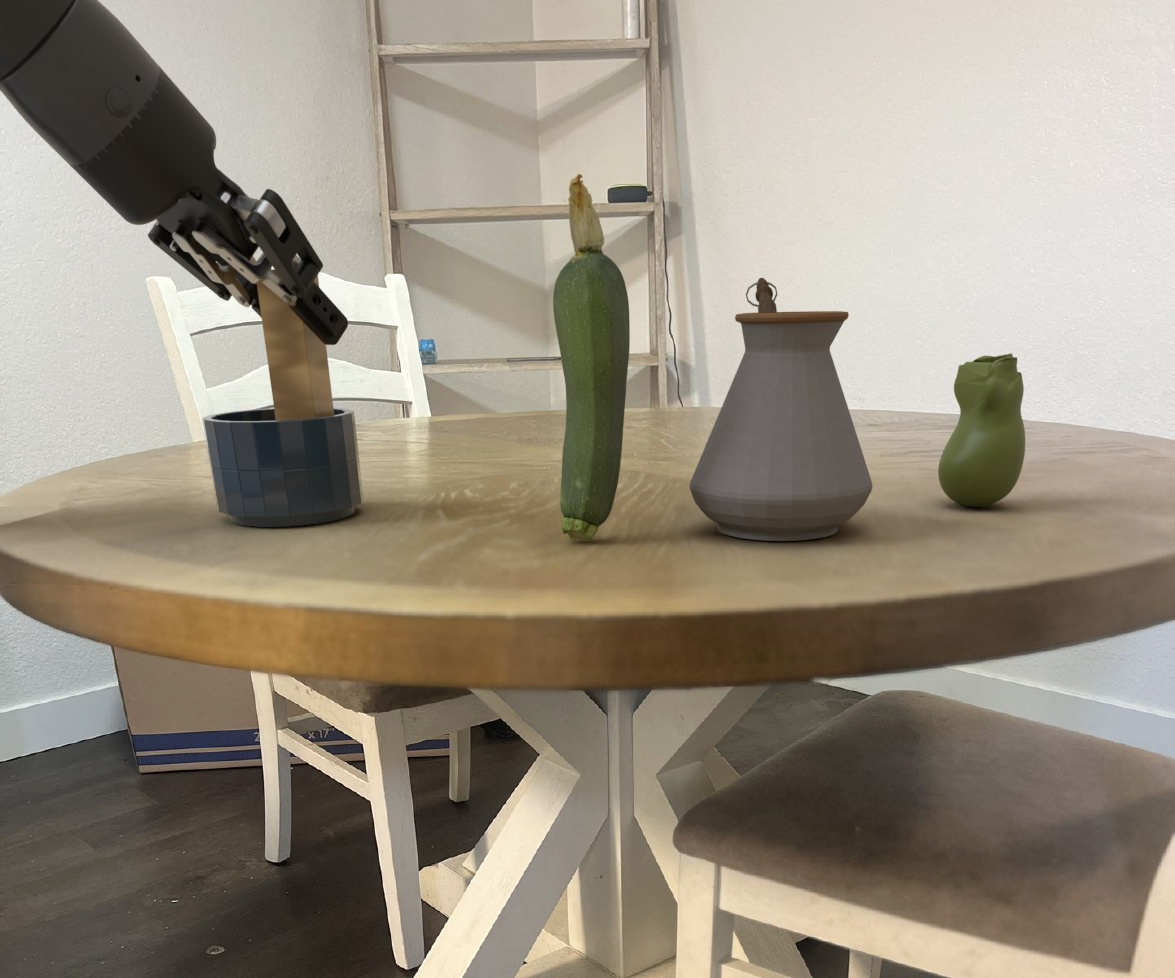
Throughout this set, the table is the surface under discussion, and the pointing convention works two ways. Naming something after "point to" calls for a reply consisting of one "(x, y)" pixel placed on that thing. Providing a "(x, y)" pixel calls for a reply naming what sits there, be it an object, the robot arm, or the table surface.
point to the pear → (985, 433)
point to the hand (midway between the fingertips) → (318, 334)
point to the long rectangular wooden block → (294, 361)
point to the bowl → (284, 467)
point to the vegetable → (591, 370)
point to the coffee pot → (783, 433)
